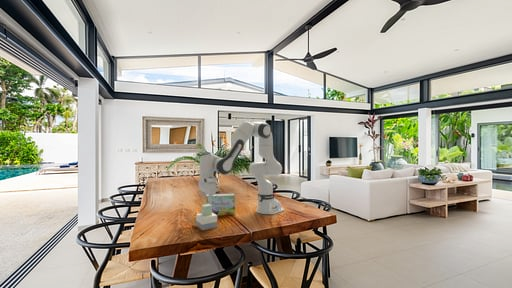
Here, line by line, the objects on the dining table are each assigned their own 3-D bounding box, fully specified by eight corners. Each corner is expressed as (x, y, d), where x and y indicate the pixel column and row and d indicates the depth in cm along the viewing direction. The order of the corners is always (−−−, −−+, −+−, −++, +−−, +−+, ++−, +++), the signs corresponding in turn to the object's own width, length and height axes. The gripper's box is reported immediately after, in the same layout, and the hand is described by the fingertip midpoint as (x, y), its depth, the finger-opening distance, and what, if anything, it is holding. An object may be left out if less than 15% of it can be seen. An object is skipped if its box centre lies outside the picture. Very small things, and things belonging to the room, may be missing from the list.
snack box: (206, 216, 174) (206, 195, 174) (206, 214, 180) (206, 194, 180) (234, 214, 178) (234, 194, 178) (234, 212, 184) (234, 193, 184)
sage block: (208, 212, 157) (208, 203, 157) (212, 214, 153) (211, 205, 153) (201, 214, 154) (201, 205, 154) (204, 216, 150) (204, 206, 150)
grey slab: (210, 223, 160) (210, 217, 160) (217, 227, 152) (217, 221, 152) (196, 226, 154) (196, 220, 154) (202, 231, 146) (202, 224, 146)
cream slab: (210, 217, 160) (210, 211, 160) (217, 221, 152) (217, 215, 152) (196, 220, 154) (196, 214, 154) (202, 224, 146) (202, 218, 146)
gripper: (195, 176, 160) (196, 196, 161) (208, 180, 143) (208, 203, 144) (204, 175, 164) (204, 195, 164) (217, 179, 147) (217, 201, 147)
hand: (206, 199), depth 154 cm, fingers open, 8 cm apart
